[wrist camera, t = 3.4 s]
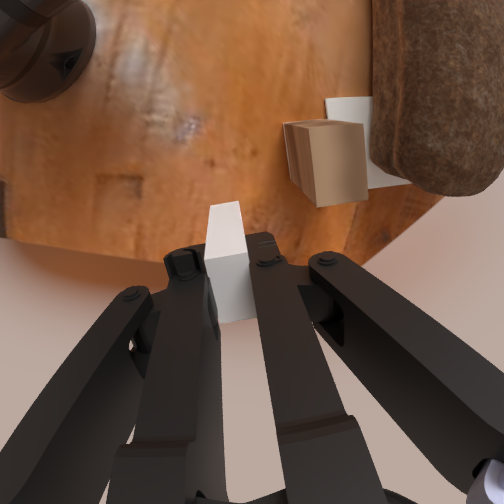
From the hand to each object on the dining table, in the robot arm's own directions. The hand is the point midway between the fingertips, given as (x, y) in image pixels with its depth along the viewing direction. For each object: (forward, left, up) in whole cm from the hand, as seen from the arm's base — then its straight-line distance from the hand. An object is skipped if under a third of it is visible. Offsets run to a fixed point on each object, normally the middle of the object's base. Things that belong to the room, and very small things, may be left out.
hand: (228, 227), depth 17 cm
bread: (+26, +11, -22) cm, 36 cm away
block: (+10, 0, -22) cm, 24 cm away
